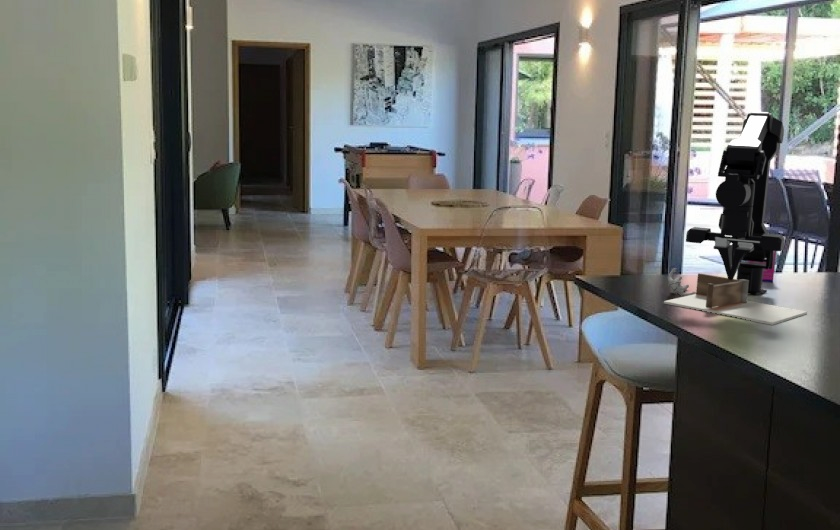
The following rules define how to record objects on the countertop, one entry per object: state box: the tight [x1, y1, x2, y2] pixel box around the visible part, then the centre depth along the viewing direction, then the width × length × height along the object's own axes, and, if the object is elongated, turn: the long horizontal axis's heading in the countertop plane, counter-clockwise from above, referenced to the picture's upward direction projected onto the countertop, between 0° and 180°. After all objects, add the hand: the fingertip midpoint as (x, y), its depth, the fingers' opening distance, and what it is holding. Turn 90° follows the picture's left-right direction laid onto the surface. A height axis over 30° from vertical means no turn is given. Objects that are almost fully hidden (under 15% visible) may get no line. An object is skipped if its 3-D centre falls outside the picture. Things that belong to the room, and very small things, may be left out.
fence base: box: [695, 272, 749, 303], centre depth 196 cm, size 2×12×5 cm, turn 45°
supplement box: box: [747, 251, 777, 283], centre depth 224 cm, size 6×6×12 cm
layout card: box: [663, 294, 808, 326], centre depth 188 cm, size 17×24×1 cm
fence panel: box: [706, 281, 743, 308], centre depth 187 cm, size 12×1×5 cm, turn 129°
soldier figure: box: [667, 267, 696, 297], centre depth 202 cm, size 8×5×12 cm
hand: (730, 279), depth 183 cm, fingers closed
